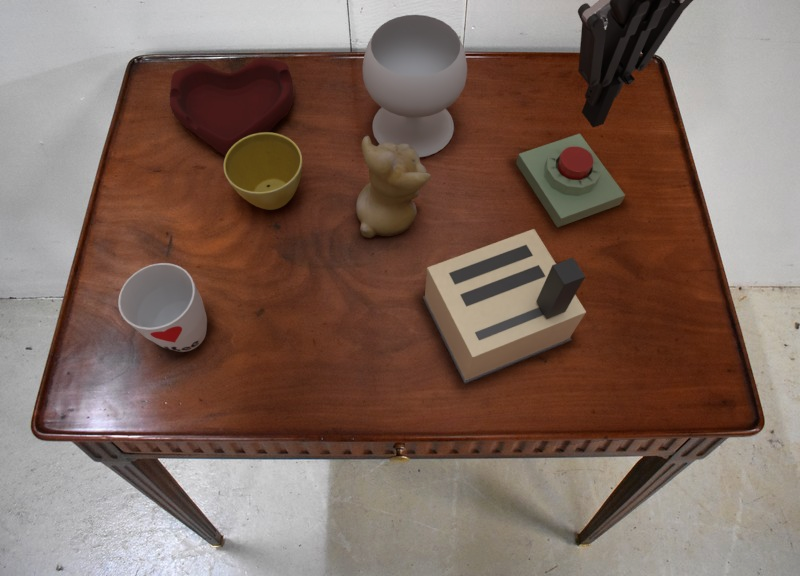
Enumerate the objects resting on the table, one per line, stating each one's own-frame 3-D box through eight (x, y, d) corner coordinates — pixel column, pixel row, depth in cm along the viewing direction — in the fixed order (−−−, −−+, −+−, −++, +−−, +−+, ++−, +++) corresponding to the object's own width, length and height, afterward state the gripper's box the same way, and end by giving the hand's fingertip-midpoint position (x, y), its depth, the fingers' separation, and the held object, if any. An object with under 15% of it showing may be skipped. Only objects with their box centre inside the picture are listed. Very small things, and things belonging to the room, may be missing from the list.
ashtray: (174, 171, 85) (162, 147, 80) (180, 89, 92) (169, 63, 88) (299, 159, 86) (294, 134, 82) (294, 79, 94) (289, 53, 89)
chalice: (462, 97, 92) (473, 12, 78) (456, 168, 85) (467, 88, 72) (372, 90, 92) (368, 4, 79) (360, 160, 86) (353, 79, 73)
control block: (620, 204, 82) (630, 186, 79) (557, 227, 80) (564, 210, 77) (575, 143, 87) (583, 124, 84) (515, 163, 86) (520, 144, 82)
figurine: (431, 197, 83) (438, 119, 70) (424, 248, 79) (430, 176, 66) (362, 189, 83) (355, 111, 70) (352, 240, 79) (343, 167, 66)
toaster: (570, 341, 73) (589, 312, 65) (464, 384, 70) (471, 359, 63) (522, 260, 78) (535, 226, 71) (422, 298, 75) (424, 266, 68)
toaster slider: (565, 311, 65) (585, 276, 58) (546, 319, 65) (564, 284, 58) (554, 294, 66) (573, 257, 59) (535, 301, 66) (552, 265, 59)
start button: (596, 174, 80) (599, 165, 79) (567, 184, 79) (571, 175, 78) (579, 151, 82) (582, 142, 81) (551, 160, 81) (554, 151, 80)
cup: (141, 355, 72) (104, 320, 63) (169, 297, 75) (138, 256, 66) (203, 370, 71) (176, 336, 62) (229, 310, 74) (206, 271, 66)
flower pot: (323, 187, 84) (317, 153, 77) (278, 237, 80) (268, 205, 73) (268, 156, 86) (257, 121, 80) (221, 203, 82) (207, 170, 76)
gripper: (706, -114, 55) (621, 83, 76) (583, -82, 52) (531, 112, 73) (758, -69, 51) (654, 124, 72) (630, -33, 49) (561, 156, 70)
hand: (592, 118), depth 73 cm, fingers closed
